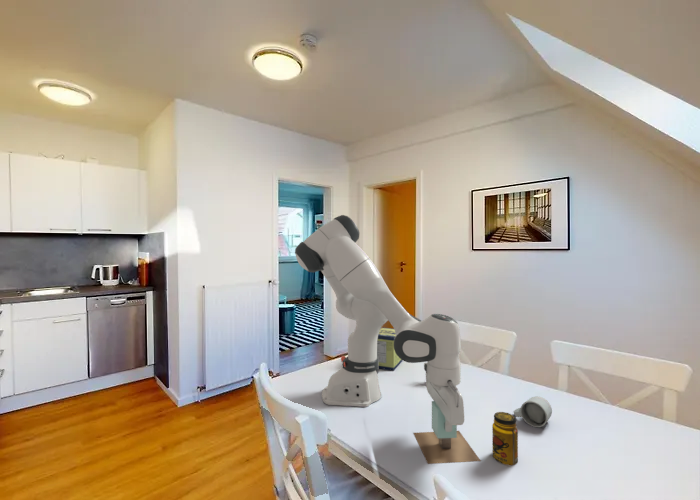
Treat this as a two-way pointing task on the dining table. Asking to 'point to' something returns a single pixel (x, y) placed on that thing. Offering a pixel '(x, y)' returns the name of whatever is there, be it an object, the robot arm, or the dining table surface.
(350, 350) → the robot arm
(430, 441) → the board
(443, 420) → the mint green upright block
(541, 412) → the ceramic mug
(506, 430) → the condiment
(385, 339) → the protein box
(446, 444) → the post
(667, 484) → the dining table surface
